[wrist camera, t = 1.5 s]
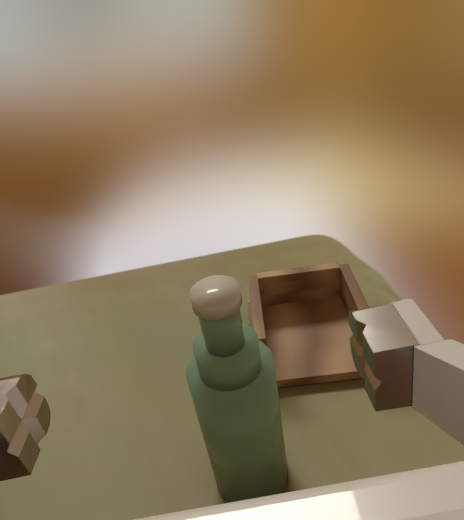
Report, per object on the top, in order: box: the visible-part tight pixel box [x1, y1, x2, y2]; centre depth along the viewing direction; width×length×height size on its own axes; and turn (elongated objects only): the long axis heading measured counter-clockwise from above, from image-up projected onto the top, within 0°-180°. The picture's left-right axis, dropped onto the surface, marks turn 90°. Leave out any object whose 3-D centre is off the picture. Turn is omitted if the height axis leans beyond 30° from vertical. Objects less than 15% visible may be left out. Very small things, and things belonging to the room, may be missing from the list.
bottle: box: [186, 275, 288, 503], centre depth 28 cm, size 6×6×18 cm
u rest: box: [248, 263, 369, 388], centre depth 43 cm, size 12×12×5 cm
